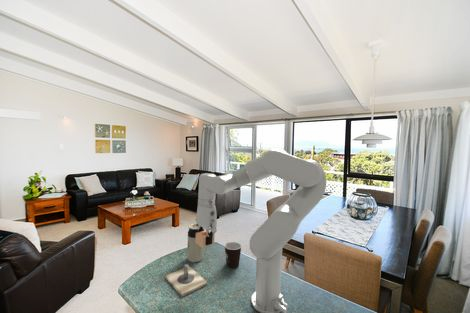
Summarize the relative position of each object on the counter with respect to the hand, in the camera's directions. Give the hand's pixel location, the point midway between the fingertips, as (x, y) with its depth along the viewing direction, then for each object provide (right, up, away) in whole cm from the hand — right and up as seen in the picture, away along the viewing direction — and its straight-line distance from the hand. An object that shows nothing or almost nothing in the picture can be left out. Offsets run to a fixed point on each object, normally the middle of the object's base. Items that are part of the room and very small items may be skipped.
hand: (204, 241), depth 94 cm
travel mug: (-8, -18, +20) cm, 28 cm away
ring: (0, -1, 0) cm, 1 cm away
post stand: (-8, -18, +1) cm, 20 cm away
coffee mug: (+12, -18, +16) cm, 27 cm away
